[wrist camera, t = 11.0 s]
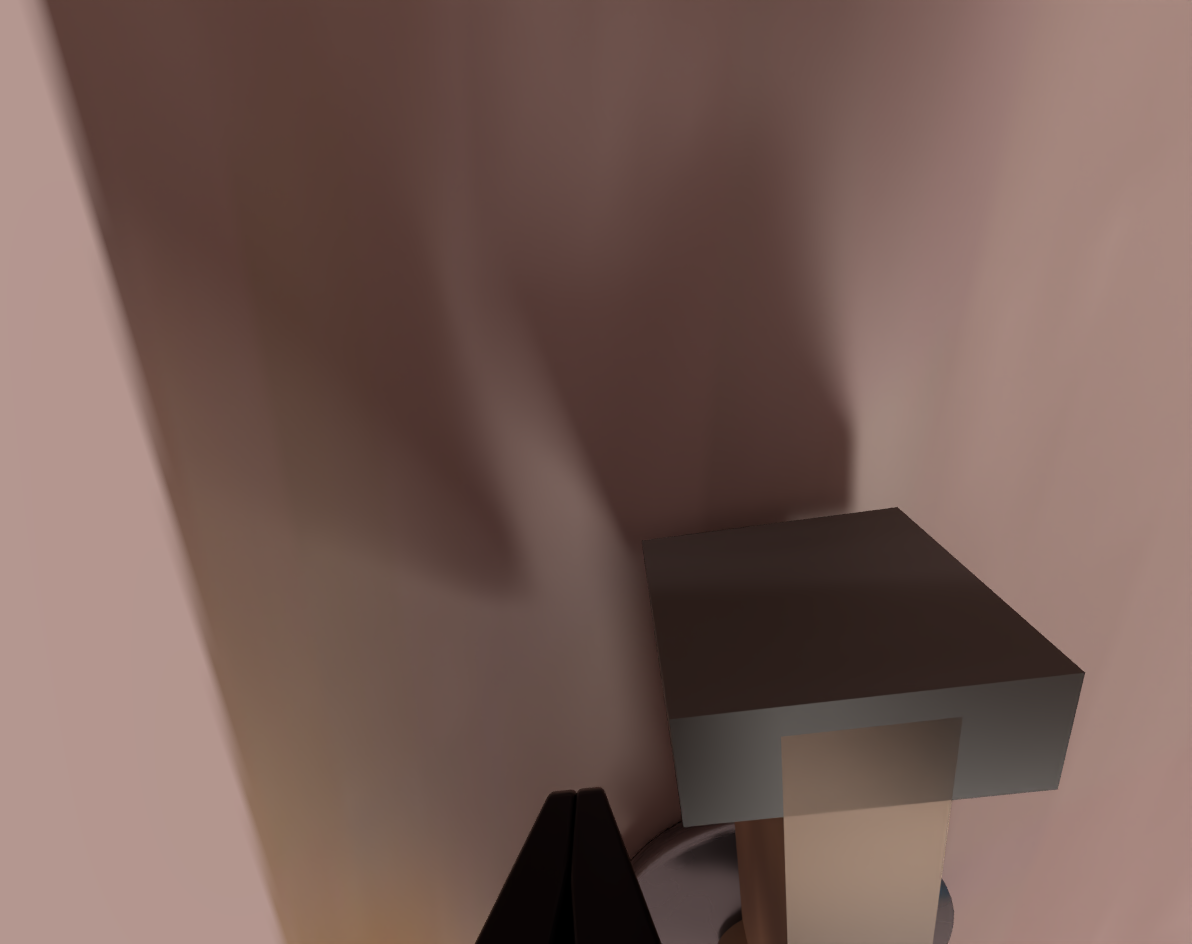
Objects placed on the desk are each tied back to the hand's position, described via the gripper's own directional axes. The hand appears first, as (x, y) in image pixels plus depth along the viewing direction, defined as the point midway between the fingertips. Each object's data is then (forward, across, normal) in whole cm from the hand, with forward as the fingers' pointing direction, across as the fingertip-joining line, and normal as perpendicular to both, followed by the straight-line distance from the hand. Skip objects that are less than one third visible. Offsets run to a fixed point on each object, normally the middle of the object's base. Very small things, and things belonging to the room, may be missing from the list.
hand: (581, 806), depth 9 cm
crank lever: (+2, -3, +3) cm, 5 cm away
